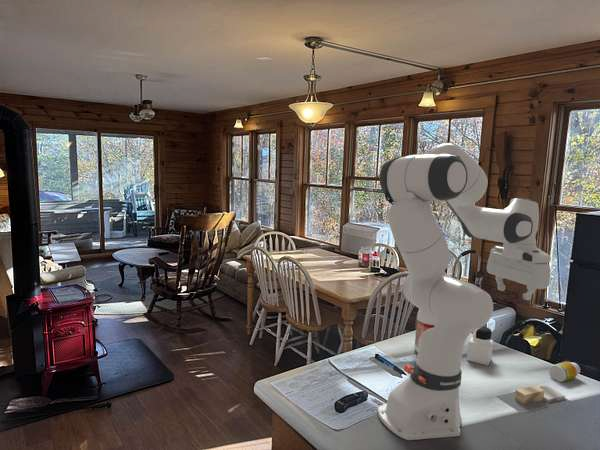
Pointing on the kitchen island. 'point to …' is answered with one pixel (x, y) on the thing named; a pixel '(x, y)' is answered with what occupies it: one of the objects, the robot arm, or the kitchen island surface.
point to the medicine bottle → (480, 346)
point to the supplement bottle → (564, 371)
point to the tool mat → (533, 406)
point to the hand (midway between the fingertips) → (513, 294)
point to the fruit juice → (423, 324)
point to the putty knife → (537, 394)
